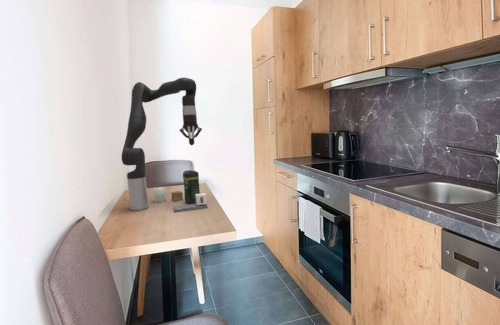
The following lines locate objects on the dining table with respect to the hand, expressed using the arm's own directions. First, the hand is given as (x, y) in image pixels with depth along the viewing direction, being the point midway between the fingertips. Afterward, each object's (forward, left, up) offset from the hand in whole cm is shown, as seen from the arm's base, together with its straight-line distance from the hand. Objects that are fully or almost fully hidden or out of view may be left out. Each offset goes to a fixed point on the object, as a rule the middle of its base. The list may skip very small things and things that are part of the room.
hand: (191, 145), depth 162 cm
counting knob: (+14, +1, -31) cm, 34 cm away
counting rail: (+14, -5, -33) cm, 36 cm away
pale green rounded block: (-12, -20, -33) cm, 40 cm away
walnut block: (-9, -10, -33) cm, 36 cm away
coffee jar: (+1, -2, -33) cm, 33 cm away
